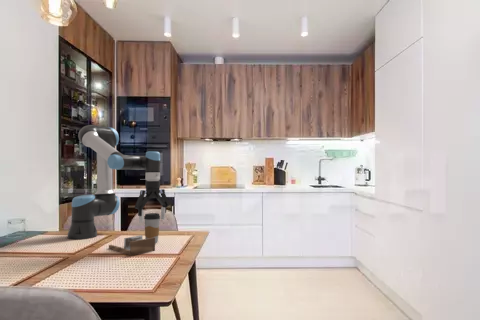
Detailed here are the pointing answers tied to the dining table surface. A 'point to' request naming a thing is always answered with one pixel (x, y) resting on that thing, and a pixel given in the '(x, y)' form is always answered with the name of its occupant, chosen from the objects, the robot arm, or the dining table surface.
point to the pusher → (130, 239)
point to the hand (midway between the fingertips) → (152, 220)
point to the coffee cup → (152, 225)
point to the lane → (137, 247)
